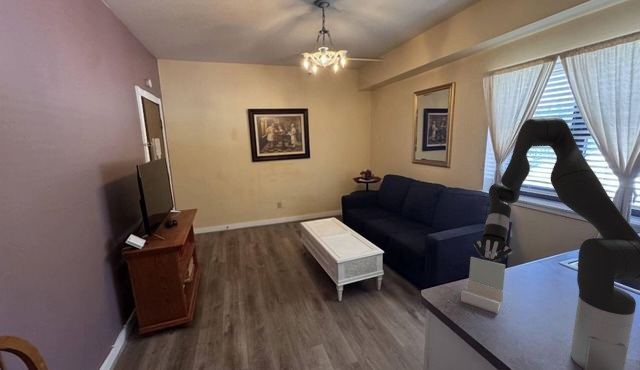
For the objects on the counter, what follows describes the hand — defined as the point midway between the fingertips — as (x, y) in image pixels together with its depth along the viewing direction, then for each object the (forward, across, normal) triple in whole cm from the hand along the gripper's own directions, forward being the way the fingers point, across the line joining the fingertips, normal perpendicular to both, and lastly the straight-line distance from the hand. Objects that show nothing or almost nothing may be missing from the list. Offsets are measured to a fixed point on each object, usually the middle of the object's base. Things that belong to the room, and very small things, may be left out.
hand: (487, 269), depth 96 cm
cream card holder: (+11, 0, +2) cm, 12 cm away
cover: (+2, 0, 0) cm, 2 cm away
